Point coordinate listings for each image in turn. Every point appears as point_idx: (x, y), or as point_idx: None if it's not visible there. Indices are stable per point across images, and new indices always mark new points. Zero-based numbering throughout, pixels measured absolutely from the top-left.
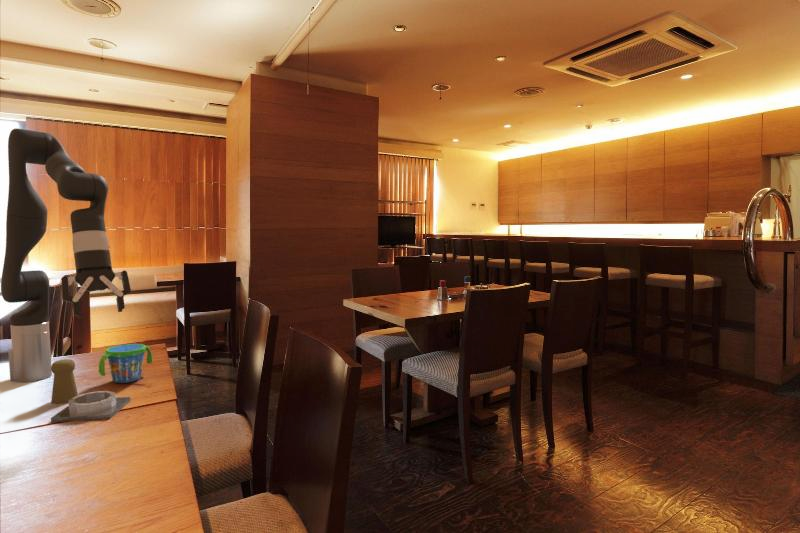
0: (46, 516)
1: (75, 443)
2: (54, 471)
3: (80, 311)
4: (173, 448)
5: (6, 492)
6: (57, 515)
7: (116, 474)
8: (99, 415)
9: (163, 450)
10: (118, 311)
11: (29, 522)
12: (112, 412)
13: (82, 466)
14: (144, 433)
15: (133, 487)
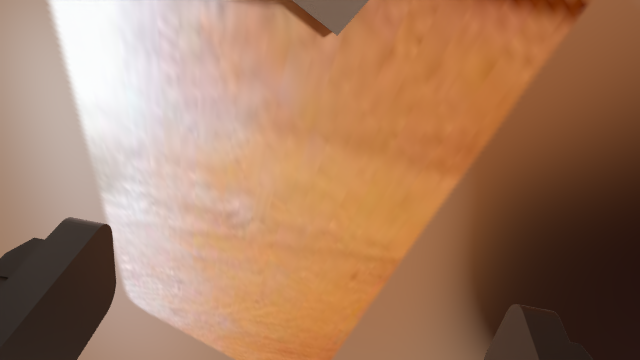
0: (171, 311)
1: (221, 133)
2: (177, 221)
3: (75, 349)
4: (374, 278)
5: None
6: (183, 316)
7: (265, 287)
8: (308, 12)
9: (357, 274)
10: (501, 333)
11: (153, 309)
12: (350, 20)
13: (223, 235)
14: (366, 192)
15: (276, 323)
